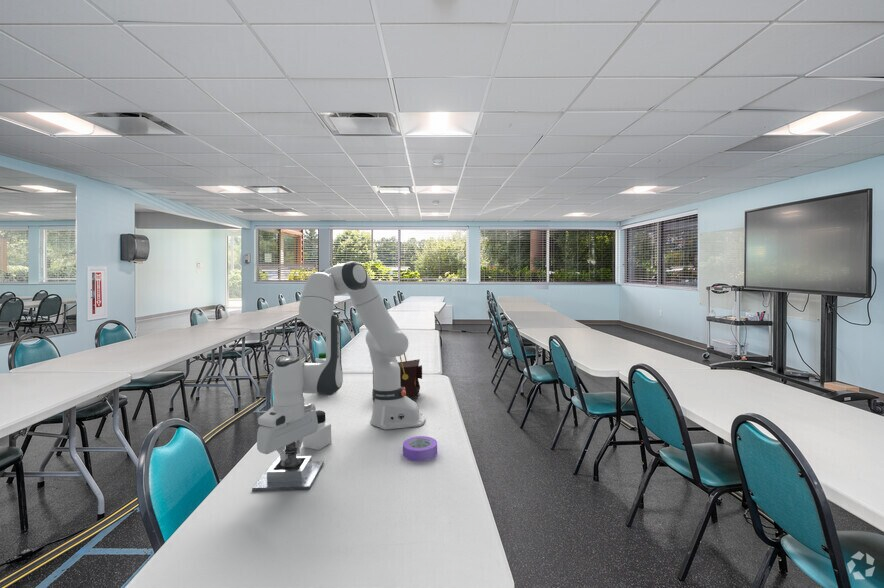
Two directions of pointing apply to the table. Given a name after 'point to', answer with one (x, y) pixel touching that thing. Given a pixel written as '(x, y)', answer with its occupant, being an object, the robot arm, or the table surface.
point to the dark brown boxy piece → (410, 376)
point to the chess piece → (291, 458)
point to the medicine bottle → (319, 434)
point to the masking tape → (420, 448)
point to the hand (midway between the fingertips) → (290, 456)
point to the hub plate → (289, 476)
